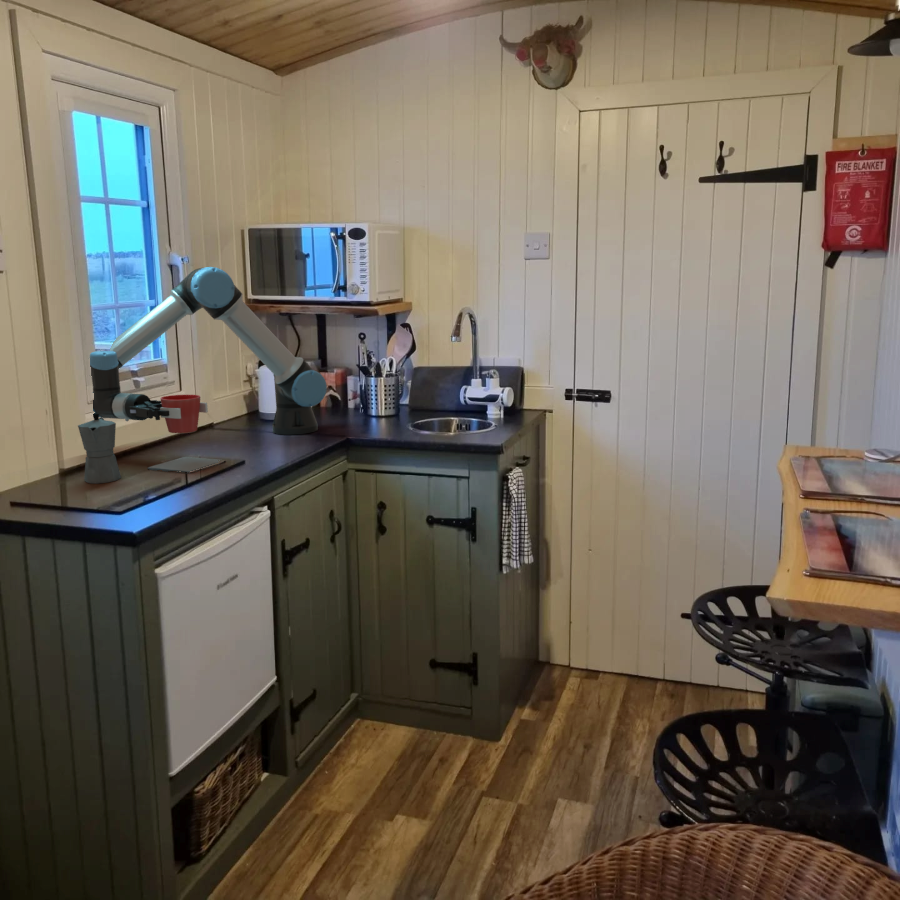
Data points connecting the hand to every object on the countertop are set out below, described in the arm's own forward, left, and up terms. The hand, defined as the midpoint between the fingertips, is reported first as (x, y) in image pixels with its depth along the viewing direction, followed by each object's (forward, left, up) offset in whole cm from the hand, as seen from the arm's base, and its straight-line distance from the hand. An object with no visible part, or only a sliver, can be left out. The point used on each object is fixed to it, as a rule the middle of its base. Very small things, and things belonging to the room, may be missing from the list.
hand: (193, 410), depth 243 cm
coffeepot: (+20, -15, -16) cm, 30 cm away
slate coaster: (0, -4, -16) cm, 17 cm away
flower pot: (0, -4, -6) cm, 8 cm away
